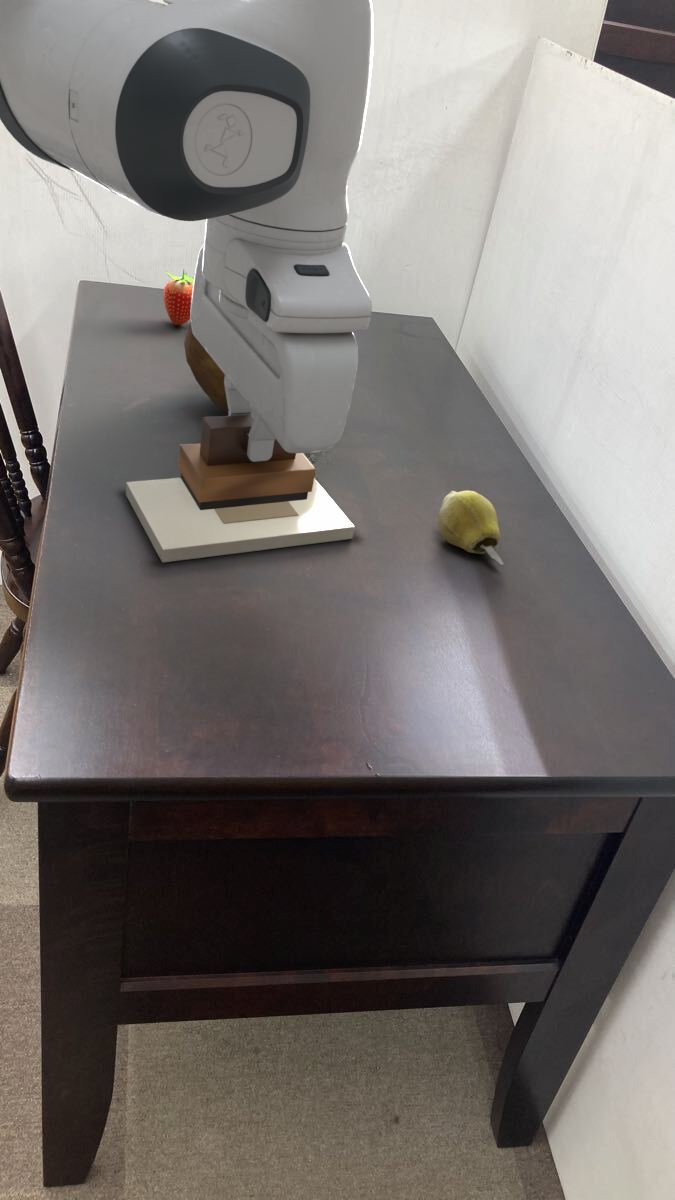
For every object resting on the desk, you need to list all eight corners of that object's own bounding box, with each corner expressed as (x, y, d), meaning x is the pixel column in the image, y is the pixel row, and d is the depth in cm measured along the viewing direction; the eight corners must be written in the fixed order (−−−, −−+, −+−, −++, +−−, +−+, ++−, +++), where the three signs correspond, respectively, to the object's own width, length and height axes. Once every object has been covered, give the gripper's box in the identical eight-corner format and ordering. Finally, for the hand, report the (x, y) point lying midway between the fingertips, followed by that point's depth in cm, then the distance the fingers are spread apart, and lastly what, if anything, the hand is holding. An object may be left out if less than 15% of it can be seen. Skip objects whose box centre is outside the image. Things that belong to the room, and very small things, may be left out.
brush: (198, 512, 64) (204, 440, 61) (177, 477, 68) (182, 407, 64) (310, 500, 68) (322, 433, 65) (285, 468, 72) (295, 401, 68)
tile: (162, 563, 82) (163, 548, 81) (125, 494, 90) (126, 481, 89) (352, 539, 91) (355, 525, 90) (303, 478, 99) (306, 466, 98)
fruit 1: (174, 315, 130) (177, 259, 125) (204, 325, 129) (210, 270, 124) (153, 324, 126) (157, 267, 121) (185, 335, 125) (190, 278, 120)
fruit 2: (477, 581, 89) (414, 519, 93) (508, 579, 93) (446, 519, 98) (510, 536, 86) (443, 474, 91) (540, 535, 91) (475, 477, 95)
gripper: (176, 204, 63) (165, 385, 71) (288, 316, 49) (259, 524, 58) (258, 208, 66) (239, 382, 74) (387, 316, 52) (345, 515, 61)
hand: (248, 446), depth 66 cm, fingers closed on brush
